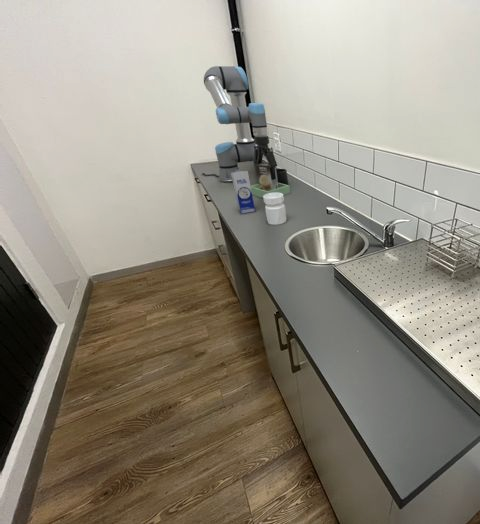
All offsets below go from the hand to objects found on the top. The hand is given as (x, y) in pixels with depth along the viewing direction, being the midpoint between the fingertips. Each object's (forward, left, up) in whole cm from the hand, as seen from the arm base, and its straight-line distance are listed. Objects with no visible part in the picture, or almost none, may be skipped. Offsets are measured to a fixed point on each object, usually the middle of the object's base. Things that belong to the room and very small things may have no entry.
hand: (267, 177), depth 167 cm
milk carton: (+15, -25, -9) cm, 31 cm away
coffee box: (0, 0, -9) cm, 9 cm away
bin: (0, 0, -9) cm, 9 cm away
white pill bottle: (+38, -24, -9) cm, 46 cm away
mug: (-11, +16, -9) cm, 21 cm away
